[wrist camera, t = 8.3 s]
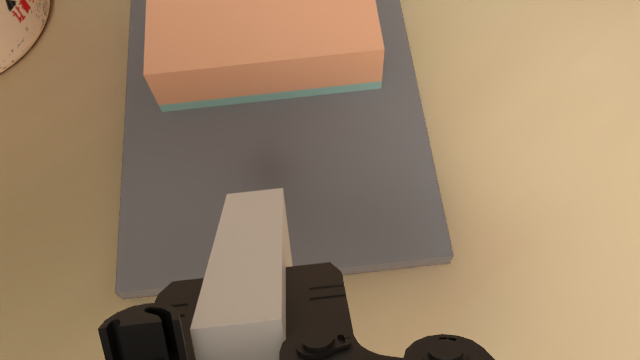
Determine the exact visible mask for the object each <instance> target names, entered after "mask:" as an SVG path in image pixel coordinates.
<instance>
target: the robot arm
mask: <svg viewBox="0 0 640 360" xmlns="http://www.w3.org/2000/svg"><path fill="white" fill-rule="evenodd" d="M98 331H99V335H100V339H101V343H102V347H103V351H104V355H105V359H106V360H495V359H494V358H493V357H492V356H491V355H490V354H489V353H488V352H487V351H486V350H485V349H484V348H483V347H481V346H480V345H478V344H477V343H475V342H474V341H472V340H470V339H467V338H464V337H460V336H456V335H444V334H441V335H433V336H427V337H424V338H422V339H420V340H417V341H415V342H413V343H412V344H411V345H410V346H409V347H408V348H407V349H406V351H405V355H404V358H399V357H390V356H384V355H379V354H376V353H373V352H371V351H369V350H367V349H365V348H364V347H362V346H361V345H360V344H359V343H358V342H357V340H356V339H355V337H354V334H353V329H352V324H351V319H350V314H349V308H348V303H347V298H346V293H345V288H344V282H343V277H342V272H341V271H340V270H339V269H338V268H337V267H335V266H334V265H333V264H332V263H331V262H326V263H317V264H308V265H299V266H293V265H292V257H291V249H290V241H289V233H288V225H287V217H286V208H285V200H284V192H283V188H277V189H268V190H259V191H250V192H241V193H232V194H227V196H226V199H225V203H224V207H223V210H222V214H221V218H220V221H219V225H218V229H217V232H216V236H215V240H214V243H213V247H212V251H211V254H210V258H209V262H208V265H207V269H206V273H205V276H204V278H198V279H189V280H180V281H172V282H171V283H170V284H169V285H168V286H167V287H166V288H164V289H163V290H162V291H161V292H160V293H159V294H158V296H157V298H156V301H155V303H147V304H143V305H138V306H133V307H130V308H127V309H125V310H122V311H120V312H117V313H116V314H114V315H113V316H111V317H110V318H108V319H106V320H105V321H104V322H103V324H102V325H101V326H100V327H99V328H98Z"/></svg>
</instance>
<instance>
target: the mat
mask: <svg viewBox="0 0 640 360" xmlns="http://www.w3.org/2000/svg"><path fill="white" fill-rule="evenodd" d="M375 1H376V6H377V11H378V17H379V22H380V27H381V33H382V38H383V43H384V49H385V50H384V62H383V74H382V86H381V89H371V90H362V91H353V92H343V93H334V94H325V95H316V96H306V97H297V98H288V99H278V100H269V101H260V102H251V103H241V104H232V105H223V106H213V107H204V108H195V109H186V110H176V111H167V112H162V111H161V109H160V107H159V105H158V103H157V101H156V99H155V97H154V95H153V93H152V91H151V89H150V87H149V85H148V83H147V81H146V79H145V77H144V75H143V71H144V45H145V19H146V0H131V10H130V29H129V48H128V66H127V85H126V104H125V122H124V141H123V160H122V178H121V197H120V216H119V234H118V253H117V271H116V290H115V293H116V294H117V295H119V296H120V297H121V298H122V299H128V298H137V297H146V296H156V295H158V294H159V293H160V292H161V291H162V290H163V289H164V288H166V287H167V286H168V285H169V284H170V283H171V282H172V281H180V280H189V279H198V278H204V276H205V273H206V269H207V265H208V262H209V258H210V254H211V251H212V247H213V243H214V240H215V236H216V232H217V229H218V225H219V221H220V218H221V214H222V210H223V207H224V203H225V199H226V196H227V194H232V193H241V192H250V191H259V190H268V189H277V188H283V192H284V200H285V208H286V217H287V225H288V233H289V241H290V249H291V257H292V265H293V266H299V265H308V264H317V263H326V262H331V263H332V264H333V265H334V266H335V267H337V268H338V269H339V270H340V271H341V272H342V275H347V274H356V273H365V272H374V271H383V270H392V269H401V268H410V267H419V266H429V265H438V264H447V263H450V262H451V260H452V258H453V252H452V247H451V242H450V237H449V233H448V228H447V223H446V218H445V214H444V209H443V204H442V199H441V195H440V190H439V185H438V180H437V176H436V171H435V166H434V161H433V157H432V152H431V147H430V142H429V138H428V133H427V128H426V123H425V119H424V114H423V109H422V104H421V100H420V95H419V90H418V85H417V81H416V76H415V71H414V66H413V62H412V57H411V52H410V47H409V43H408V38H407V33H406V28H405V24H404V19H403V14H402V9H401V5H400V0H375Z"/></svg>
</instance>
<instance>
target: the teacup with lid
mask: <svg viewBox="0 0 640 360" xmlns="http://www.w3.org/2000/svg"><path fill="white" fill-rule="evenodd" d="M49 8H50V0H0V73H1V72H3V71H5V70H6V69H8V68H9V67H10V66H12V65H13V64H14V63H15V62H17V61H18V60H19V59H20V58H21V57H22V56H23V55H24V54H25V53H26V52H27V51H28V50H29V49H30V48H31V47H32V45H33V44H34V43H35V42H36V40H37V38H38V37H39V35H40V34H41V32H42V30H43V28H44V26H45V23H46V21H47V17H48V14H49Z"/></svg>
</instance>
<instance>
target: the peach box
mask: <svg viewBox="0 0 640 360" xmlns="http://www.w3.org/2000/svg"><path fill="white" fill-rule="evenodd" d="M384 50H385V49H384V43H383V38H382V33H381V27H380V22H379V17H378V11H377V6H376V1H375V0H146V19H145V45H144V71H143V75H144V77H145V79H146V81H147V83H148V85H149V87H150V89H151V91H152V93H153V95H154V97H155V99H156V101H157V103H158V105H159V107H160V109H161V111H162V112H167V111H176V110H186V109H195V108H204V107H213V106H223V105H232V104H241V103H251V102H260V101H269V100H278V99H288V98H297V97H306V96H316V95H325V94H334V93H343V92H353V91H362V90H371V89H381V86H382V74H383V62H384Z"/></svg>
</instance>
